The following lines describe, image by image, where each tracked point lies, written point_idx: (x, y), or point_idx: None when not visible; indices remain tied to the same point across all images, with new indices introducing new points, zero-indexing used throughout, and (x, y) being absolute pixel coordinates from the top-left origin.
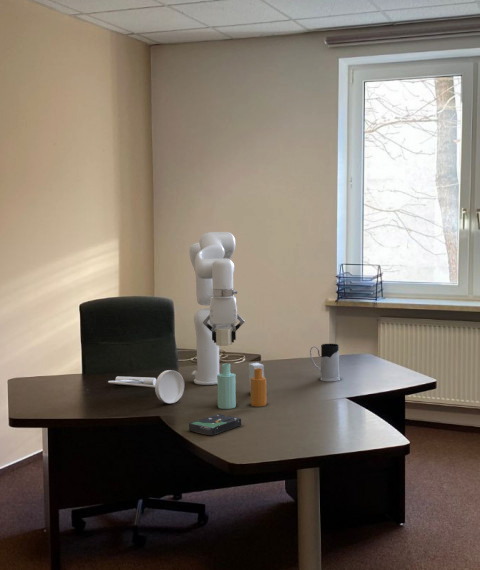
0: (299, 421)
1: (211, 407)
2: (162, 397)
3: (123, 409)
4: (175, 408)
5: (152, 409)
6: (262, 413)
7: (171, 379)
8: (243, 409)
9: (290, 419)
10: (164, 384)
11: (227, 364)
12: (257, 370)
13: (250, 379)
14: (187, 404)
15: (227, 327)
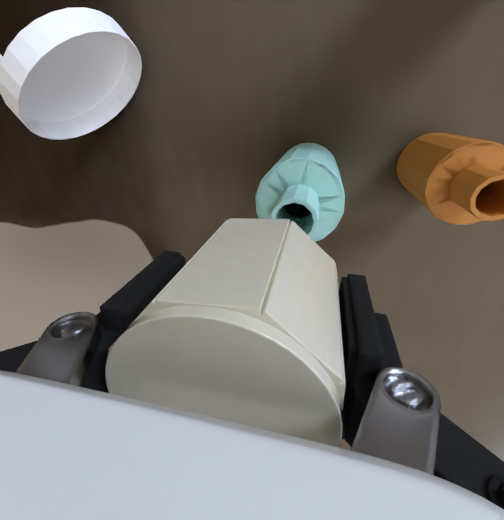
0: (479, 364)
1: (257, 173)
2: (86, 100)
3: (22, 152)
4: (152, 166)
5: (94, 166)
6: (404, 274)
7: (57, 47)
8: (356, 218)
9: (463, 344)
10: (53, 83)
11: (304, 203)
12: (481, 218)
13: (425, 180)
14: (178, 117)
15: (277, 359)
